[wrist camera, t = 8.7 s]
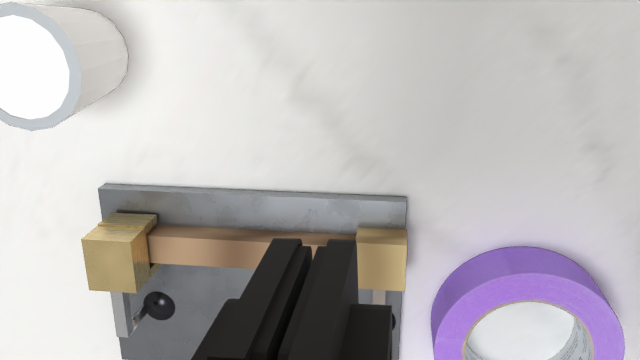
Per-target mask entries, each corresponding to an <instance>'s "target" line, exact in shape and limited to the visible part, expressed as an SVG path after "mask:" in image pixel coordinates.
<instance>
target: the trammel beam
mask: <svg viewBox="0 0 640 360" xmlns="http://www.w3.org/2000/svg"><path fill="white" fill-rule="evenodd" d="M274 238H296V239H301V240H302V244H303V246H311V248H312V258H314V255H315V253H316V250H317V247H318V246H326V245H327V242H328V240H329V239H339V240H356V243H357V263H358V288H359V289H373V304H378V305H385V294H386V290H390V291H405V278H406V260H407V230H406V229H386V228H366V227H358V228H357V234H356V235H341V234H322V233H303V232H283V231H264V230H245V229H226V228H207V227H187V226H168V225H155V226H154V227H153V228H152V229H151V230H150V231H149V232H148V233H147V234H146V239H147V248H148V257H149V263H160V264H177V265H193V266H210V267H226V268H243V269H256V268H257V266H258V265H259V263H260V261H261V259H262V257H263V256H264V254H265V252H266V250H267V249H268V247H269V245H270V243H271V241H272V240H273V239H274Z"/></svg>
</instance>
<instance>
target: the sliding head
mask: <svg viewBox="0 0 640 360" xmlns="http://www.w3.org/2000/svg"><path fill="white" fill-rule="evenodd" d="M156 224H157V215H152V214H132V213H111V214H110V215H109V216H107V217H106V218H105V219H104V220H102V221H101V222H100V223H99V224H98V226H97V227H96V228H94V229H93V230H92V231H91V232H90V233H88V234H87V235H86V236H85V237H83V238H82V239H81V241H82V247H83V253H84V260H85V266H86V273H87V279H88V285H89V290H95V291H110V292H111V299H112V306H113V313H114V320H115V327H116V334H117V337H127V338H128V337H129V336H130V335H131V334H132V333H133V331H134V330H135V329H136V327H137V326H138V325H139V323H140V322H141V321H142V319H143V318H144V317H145V315H146V314H147V313H148V311H149V307H148V306H147V305H141V306H140V307H139V308H138V310H137V311H136V312H135V314H134V315H133V316H131V308H130V300H129V293H137V292H138V291H139V290H140V289H141V287H142V286H143V285H144V284H145V283H146V281H147V280H148V279H149V278H151V277H152V276H153V275H154V273H155V272H156V271H157V270H158V269H159V267H160V266H161V265H162V264H160V263H149V257H148V248H147V239H146V234H147V233H148V232H149V231H150V230H151V229H152V228H153V227H154V226H155V225H156Z"/></svg>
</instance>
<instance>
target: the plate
mask: <svg viewBox="0 0 640 360" xmlns="http://www.w3.org/2000/svg"><path fill="white" fill-rule="evenodd" d="M98 193H99V200H100V207H101V214H102V220H104V219H105V218H106V217H107V216H109V215H110V214H111V213H132V214H152V215H157V224H156V225H168V226H187V227H207V228H226V229H245V230H264V231H283V232H303V233H322V234H341V235H356V234H357V228H358V227H366V228H386V229H405V221H406V197H398V196H375V195H352V194H329V193H305V192H282V191H259V190H236V189H213V188H190V187H167V186H144V185H121V184H104V185H103V186H101V187H100V188H98ZM255 270H256V269H243V268H226V267H210V266H193V265H177V264H162V265H161V266H160V267H159V269H158V270H157V271H156V272H155V273H154V275H153V276H152V277H151V278H149V279H148V280H147V281H146V283H145V284H144V285H143V286H142V287H141V289H140V290H139V291H138V292H137V293H129V300H130V308H131V316H133V315H134V314H135V312H136V311H137V310H138V308H139V307H140V306H141V305H147V306H148V307H149V311H148V313H147V314H146V315H145V317H144V318H143V319H142V321H141V322H140V323H139V325H138V326H137V327H136V329H135V330H134V331H133V333H132V334H131V335H130V336H129V337H128V338H127V337H119V341H120V348H121V355H122V359H125V360H191V358H192V357H193V355H194V353H195V352H196V350H197V348H198V347H199V345H200V343H201V342H202V340H203V338H204V337H205V335H206V333H207V332H208V330H209V328H210V327H211V325H212V323H213V322H214V320H215V318H216V317H217V315H218V313H219V312H220V310H221V308H222V307H223V305H224V303H225V302H226V301H227V300H228V299H231V298H234V299H240V297H241V295H242V293H243V291H244V290H245V288H246V286H247V284H248V282H249V281H250V279H251V277H252V275H253V274H254V272H255ZM358 297H359V304H373V289H359V288H358ZM401 298H402V291H390V290H386V294H385V305H392V360H398V355H399V336H400V317H401Z"/></svg>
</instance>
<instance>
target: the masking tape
mask: <svg viewBox="0 0 640 360" xmlns="http://www.w3.org/2000/svg"><path fill="white" fill-rule="evenodd" d="M519 302H539V303H545V304H550V305H553V306H556V307H558V308H560V309H562V310H564V311H566V312H568V313H569V314H571V315H572V316H574V327H573V331H572V334H571V336H570V338H569V340H568V342H567V343H566V345H565V346H564V347H563V349H562V350H561V351H560V352H558V353H557V354H556V355H555V356H553V357H552V358H550V359H548V360H623V359H624V351H625V344H624V336H623V332H622V328H621V325H620V323H619V320H618V318H617V316H616V315H615V313H614V311H613V310H612V308H611V307H610V305H609V303H608V302H607V300H606V299H605V297H604V296H603V294H602V293H601V291H600V289H599V288H598V286H597V285H596V283H595V282H594V280H593V279H592V278H591V277H590V275H589V274H588V273H587V272H586V271H585V270H584V269H583V268H581V267H580V266H579V265H578V264H576V263H575V262H573V261H572V260H570V259H568V258H567V257H565V256H563V255H560V254H558V253H555V252H552V251H549V250H545V249H541V248H535V247H506V248H500V249H496V250H492V251H489V252H486V253H483V254H481V255H478V256H476V257H474V258H472V259H470V260H469V261H467V262H465V263H464V264H462V265H461V266H460V267H459V268H457V269H456V270H455V271H454V272H453V273H452V274H451V275H450V276H449V277H448V278H447V279H446V280H445V282H444V283H443V285H442V286H441V288H440V289H439V291H438V293H437V295H436V298H435V300H434V303H433V307H432V312H431V331H432V341H433V350H434V359H435V360H483V359H482V358H480V357H479V356H477V355H476V354H475V353H474V352H473V351H472V350H471V349H470V348H469V347H468V345H467V340H468V337H469V335H470V333H471V331H472V330H473V328H474V327H475V326H476V324H477V323H478V322H479V321H480V320H482V319H483V318H484V317H485V316H486V315H488V314H489V313H491V312H492V311H494V310H496V309H498V308H500V307H503V306H506V305H509V304H514V303H519Z"/></svg>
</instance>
